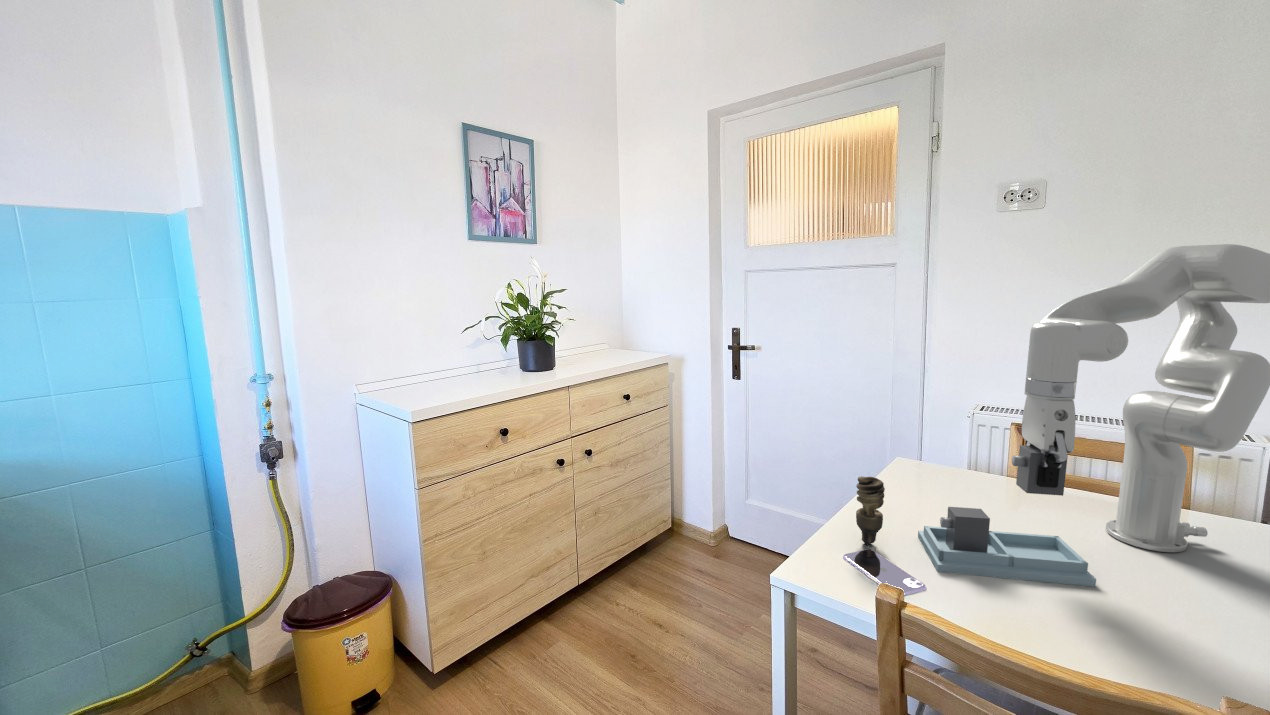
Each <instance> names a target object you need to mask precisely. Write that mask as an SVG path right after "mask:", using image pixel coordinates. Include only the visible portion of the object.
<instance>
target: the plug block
mask: <svg viewBox="0 0 1270 715" xmlns="http://www.w3.org/2000/svg"><path fill="white" fill-rule="evenodd" d="M1049 449H1050V450H1055V447H1049ZM1067 455H1068V456H1069V453H1067ZM1050 456H1054V454H1048V458H1049V457H1050ZM1011 464H1012V466H1013V467H1017V472H1016V482H1015V483H1016V486H1018V487H1019V488H1020V489H1021V490H1022V491H1024V492H1025V493H1026V494H1034V495H1035V494H1036V495H1045V496H1047V495H1049V496H1062V497H1063V496H1064V493H1065V485H1066V484H1065V482H1066V474H1067V465H1068V459H1067V460H1065V461H1063V463H1062V464H1061V465H1062V466H1061V468H1060V471H1059V480H1058V487H1057V488H1051V487H1039V486H1038V485H1037V478H1038V468H1039V465H1041V450H1040V449H1039V448H1037V447H1036V446H1026V445H1024V444H1023V445H1021V444H1020V445H1019V451H1018V455H1013V456H1012V457H1011ZM1041 466H1042V465H1041Z"/></svg>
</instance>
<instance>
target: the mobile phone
mask: <svg viewBox="0 0 1270 715" xmlns="http://www.w3.org/2000/svg"><path fill="white" fill-rule="evenodd" d="M842 559H843V560H845V561H846V560H847V561H849V562H850V563H851V564H852V565H851V564H850V563H849V562H848V563H849V564H850V565H851V566H853V565H854V566H855V567H857V568H858V569H859V570H861V571H862V572H864V573H866V574H867V575H869V576H870V577H872V578H874V579H876V580H877V582H878V583H888V584H890V585H893V586H896V587H900V588H902V589H903V590H904V593H905V595H904V596H908V595H912V594H917V593H920V592H924V591H926V590H927V586H926V584H924V582H922V581H920V580H919V579H917V578H915V577H914V576H912V575H911V574H910V573H908V572H907V571H905V570H904V569H902V568H901V567H899V566H897V565H896V564H894V563H893V562H892V561H890V560H889V559H887V558H886V557H884V556H882V555H881V554H880V553H878V552H876V551H875V550H873V549H869V548H868V549H863V550H858V551H853V552H849V553H845V554H843V555H842ZM847 561H846V562H847ZM854 566H853V567H854ZM855 567H854V568H855ZM857 568H856V569H857ZM858 569H857V570H858ZM859 570H858V571H859ZM861 571H860V572H861ZM862 572H861V573H862ZM864 573H863V574H864ZM886 581H887V582H886Z"/></svg>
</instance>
